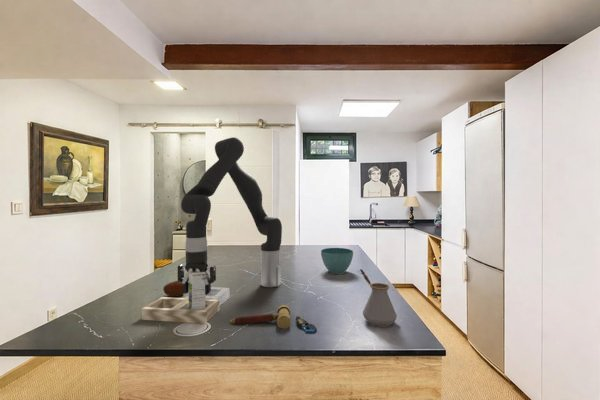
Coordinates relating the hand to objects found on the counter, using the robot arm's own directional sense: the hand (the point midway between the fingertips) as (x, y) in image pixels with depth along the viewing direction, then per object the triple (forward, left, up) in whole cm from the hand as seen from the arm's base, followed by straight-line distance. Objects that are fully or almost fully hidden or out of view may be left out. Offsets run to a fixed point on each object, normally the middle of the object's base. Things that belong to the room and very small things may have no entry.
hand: (196, 293), depth 110 cm
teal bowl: (-50, -68, -8) cm, 85 cm away
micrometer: (-40, +3, -9) cm, 41 cm away
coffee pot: (-64, -8, -8) cm, 65 cm away
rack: (+6, 0, -8) cm, 10 cm away
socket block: (+2, -14, -8) cm, 16 cm away
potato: (+20, -19, -8) cm, 29 cm away
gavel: (-25, +2, -9) cm, 26 cm away
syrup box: (0, 0, -6) cm, 6 cm away
